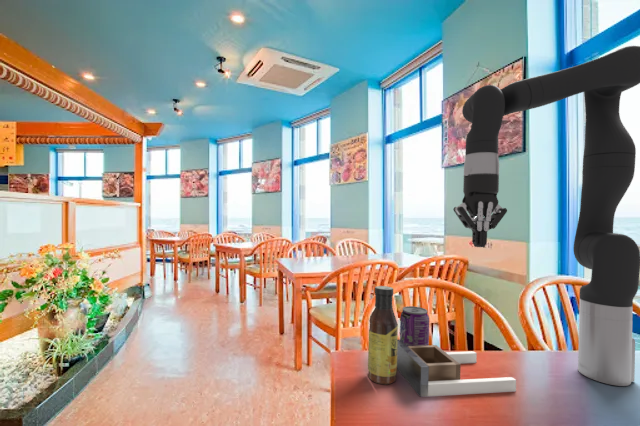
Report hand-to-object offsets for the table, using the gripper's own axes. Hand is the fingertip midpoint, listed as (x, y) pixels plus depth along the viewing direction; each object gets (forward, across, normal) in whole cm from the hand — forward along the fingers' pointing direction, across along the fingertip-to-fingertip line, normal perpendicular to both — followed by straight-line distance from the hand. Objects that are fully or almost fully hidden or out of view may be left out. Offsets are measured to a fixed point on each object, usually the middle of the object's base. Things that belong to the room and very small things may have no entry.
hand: (479, 246), depth 77 cm
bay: (+29, +8, +3) cm, 30 cm away
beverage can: (+29, +12, -8) cm, 33 cm away
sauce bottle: (+29, +24, +2) cm, 38 cm away
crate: (+29, +13, +3) cm, 32 cm away
